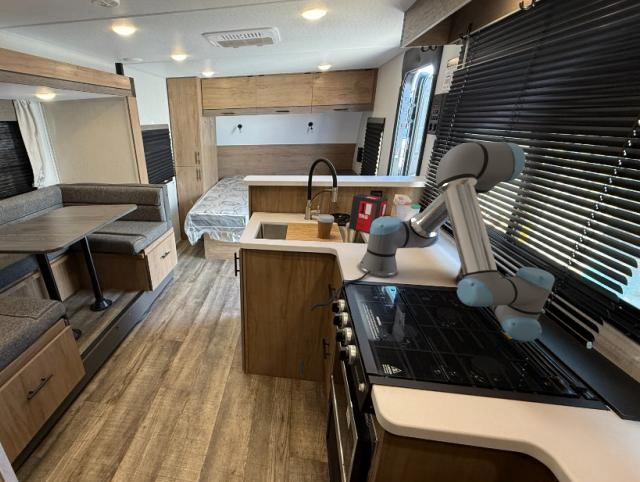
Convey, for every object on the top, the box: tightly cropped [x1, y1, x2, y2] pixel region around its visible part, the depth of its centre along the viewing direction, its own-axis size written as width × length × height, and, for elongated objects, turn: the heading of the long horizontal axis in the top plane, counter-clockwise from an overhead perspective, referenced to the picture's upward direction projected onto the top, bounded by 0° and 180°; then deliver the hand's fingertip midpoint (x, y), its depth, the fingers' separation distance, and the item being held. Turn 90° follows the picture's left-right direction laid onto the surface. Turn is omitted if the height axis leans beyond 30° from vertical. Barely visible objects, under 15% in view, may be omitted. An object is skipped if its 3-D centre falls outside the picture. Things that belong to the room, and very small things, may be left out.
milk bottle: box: [404, 203, 422, 221], centre depth 165 cm, size 8×8×20 cm
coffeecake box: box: [390, 193, 413, 221], centre depth 183 cm, size 15×7×20 cm, turn 163°
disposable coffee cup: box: [316, 213, 335, 240], centre depth 172 cm, size 10×10×12 cm
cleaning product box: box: [348, 193, 389, 234], centre depth 181 cm, size 16×9×20 cm, turn 44°
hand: (483, 273), depth 113 cm, fingers open, 13 cm apart
